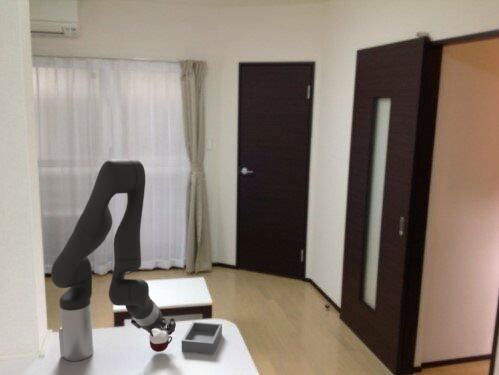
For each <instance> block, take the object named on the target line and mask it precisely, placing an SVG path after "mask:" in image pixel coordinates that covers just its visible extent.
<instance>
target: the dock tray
mask: <svg viewBox="0 0 499 375" xmlns="http://www.w3.org/2000/svg"><path fill="white" fill-rule="evenodd" d="M222 336H223V324H222V323H215V322H214V323H213V322H211V323H210V322H200V321H192V322H191V324H190V326H189V327H188V329H187V331H186V332H185V334H184V336H183V338H182V339H181V352H182V353H189V354H190V353H192V354H201V355H202V354H203V355H212V356H213V355H214V353H215V351H216V349H217V347H218V344H219V342H220V341H221V338H222Z"/></svg>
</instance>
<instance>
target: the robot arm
mask: <svg viewBox="0 0 499 375" xmlns="http://www.w3.org/2000/svg"><path fill="white" fill-rule="evenodd" d="M145 170H146V169H145V167H144V165H143V163H142V162H141V161H139V160H138V159H133V158H131V159H130V158H128V159H126V158H123V159H121V158H120V159H119V158H113V159H107V160H106V161H104V163H103V164H102V165H101V167H100V169H99V171H98V174H97V177H96V179H95V182H94V185H93V188H92V191H91V194H90V195H89V196H90V197H89V199H88V200H87V202H86V204H85V207H84V209H83V211H82V213H81V215H80V216H79V218H78V220H77V222H76V224H75V227H74V229H73V232H72V233H71V235H70V236H69V239H68V240H67V243H66V244H65V246H64V247H63V249H62V250H61V251H60V253H59V255H58V256H57V257H56V259H55V261H54V262H53V264H52V267H51V270H50V271H51V272H50V273H51V275H50V276H51V281H52V283H53V285H54V286H56V287H57V288H59V289H68V290H66V292H64V293H63V294H62V295H61V296H60V297H59V310H60V311H59V312H60V328H59V329H58V338H59V340H58V341H59V352H60V358H63V359H64V360H66V361H69V362H70V361H71V362H77V361H82V360H86V359H88V358H90V357H91V356H92V355H93V354H94V343H93V342H94V341H93V339H94V338H93V322H92V320H93V319H92V306H91V305H92V304H91V298H92V295H93V270H92V263H91V262H90V259H89V257H88V256H90V255H91V254H92V253H93V252H94V251H96V250H97V249H98V248H99V247H100V246H101V245H102V244H103V243H104V242H105V240H106V238H107V236H108V235H109V233H110V231H111V229H112V226H113V216H112V214H111V211H110V208H109V205H110V201H111V200H112V198H113V197H114V196H115V195H117V194H118V195H119V194H126V195H127V196H126V197H127V198H126V200H127V201H126V202H127V203H126V208H125V211H124V214H123V217H122V219H121V220H120V222H119V225H118V226H117V229H116V231H115V235H114V239H113V260H114V262H113V263H114V266H113V271H112V277H111V281H110V284H109V290H108V299H109V301H110V302H111V304H113V306H119V307H120V306H121V307H122V306H125V309H126V310H127V312H128V313H129V314H130V315H131V321H130V323H131V324H132V325H133V326H134V327H136V329H142V330H145V331H146V332H147V333H149V334H150V332H149V330H151V331H152V330H154V329H158V330H160V331H165V332H166V333H167V334H168V335H169V336H172V334H173V333H175V331H176V330H175V329H176V326H177V323H176V320H175V319H174V318H170V319H169V320H167V318H165V317H163V314H162V311H161V309H160V308H159V306H158V305H157V304H156V302H155V301H154V300H152V298H151V297H150V288H149V283H148V282H147V281H146V280H144V279H142V278H125V276H126V274H127V273H129V272H133V271H136V270H138V269H140V268H141V267H142V252H141V226H142V216H143V209H144V208H143V207H144V198H145V192H146V172H145Z"/></svg>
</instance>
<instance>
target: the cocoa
mask: <svg viewBox="0 0 499 375" xmlns="http://www.w3.org/2000/svg"><path fill="white" fill-rule="evenodd" d="M149 332H150V333H149V336H148V338H149V346H150V348H151V350H152V351H153V352H157V353H160V352H163V351H165V350H166V349H167V348H168V346H169V344H170V343H171V342H172V341H173V337H172V335H168V334H167V333H166V331H160V330H158V329H155V328H154V329H152V331H151V330H149Z"/></svg>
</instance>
